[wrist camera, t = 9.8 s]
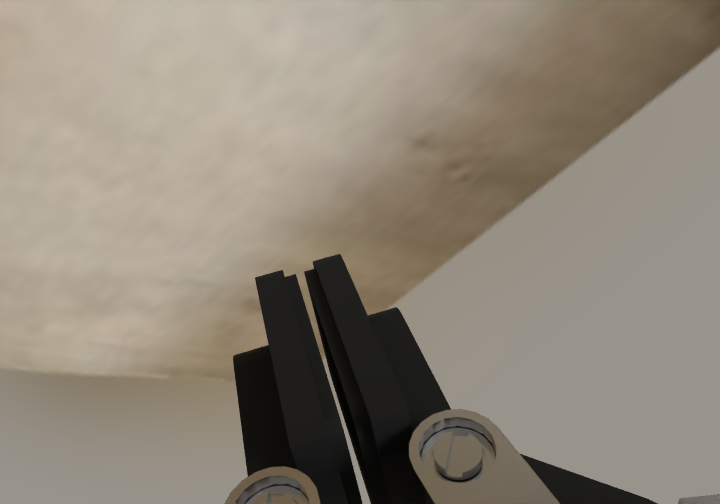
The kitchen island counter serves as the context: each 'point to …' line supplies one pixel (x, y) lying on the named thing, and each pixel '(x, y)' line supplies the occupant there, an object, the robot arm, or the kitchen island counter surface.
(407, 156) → the kitchen island counter surface
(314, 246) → the kitchen island counter surface
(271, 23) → the kitchen island counter surface
